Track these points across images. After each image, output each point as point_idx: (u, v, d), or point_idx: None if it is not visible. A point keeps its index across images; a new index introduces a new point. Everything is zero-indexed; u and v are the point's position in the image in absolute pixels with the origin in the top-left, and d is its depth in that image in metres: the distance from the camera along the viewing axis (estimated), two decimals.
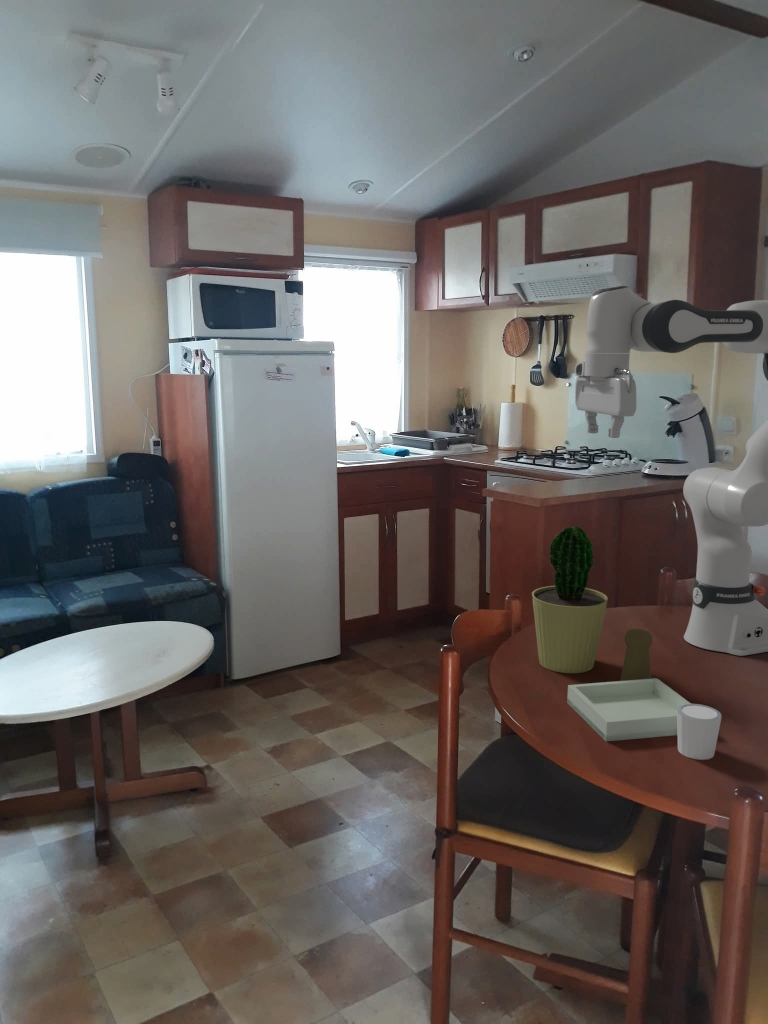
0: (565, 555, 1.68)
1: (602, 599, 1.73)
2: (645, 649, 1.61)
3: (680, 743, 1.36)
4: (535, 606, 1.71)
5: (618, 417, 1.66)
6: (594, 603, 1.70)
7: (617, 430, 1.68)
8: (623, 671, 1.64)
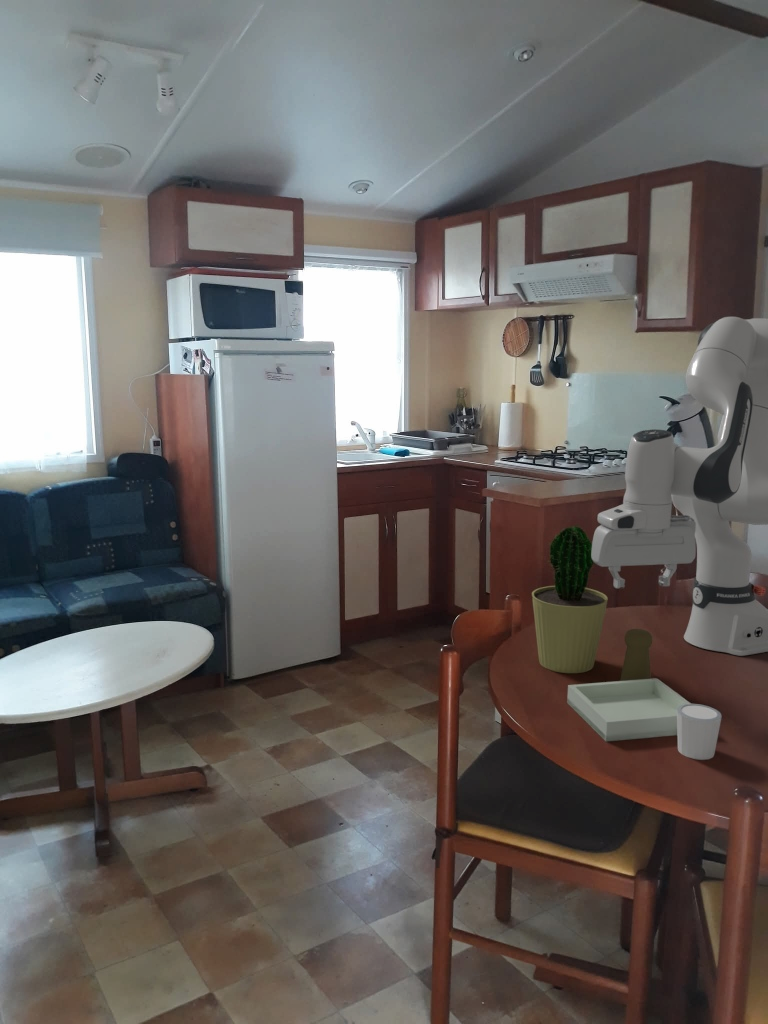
0: (565, 555, 1.68)
1: (602, 599, 1.73)
2: (645, 649, 1.61)
3: (680, 743, 1.36)
4: (535, 606, 1.71)
5: None
6: (594, 603, 1.70)
7: None
8: (623, 671, 1.64)
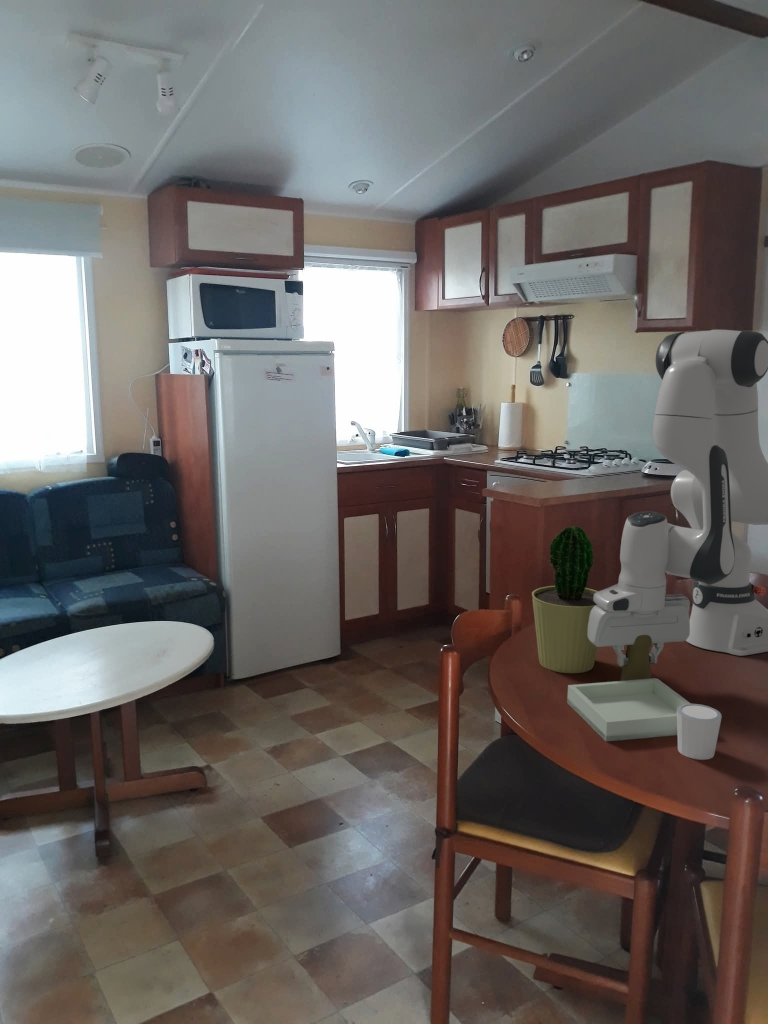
0: (565, 555, 1.68)
1: None
2: (645, 649, 1.61)
3: (680, 743, 1.36)
4: (535, 606, 1.71)
5: None
6: (594, 603, 1.70)
7: None
8: (623, 671, 1.64)
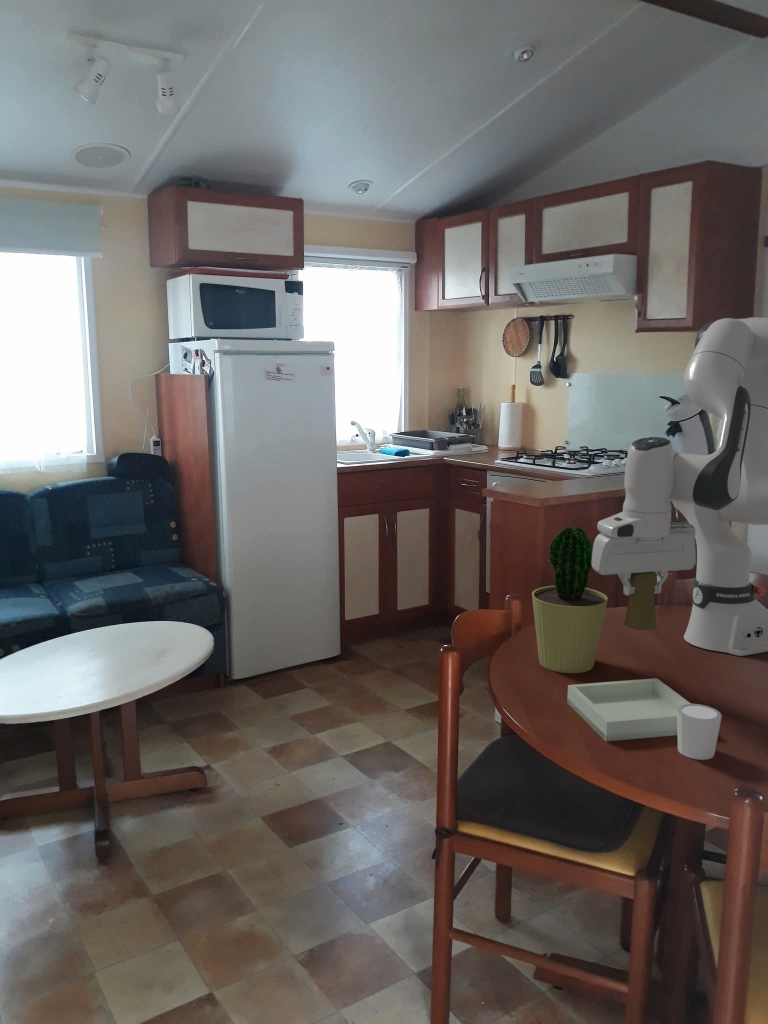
0: (565, 555, 1.68)
1: (602, 599, 1.73)
2: (650, 589, 1.59)
3: (680, 743, 1.36)
4: (535, 606, 1.71)
5: None
6: (594, 603, 1.70)
7: None
8: (627, 612, 1.62)
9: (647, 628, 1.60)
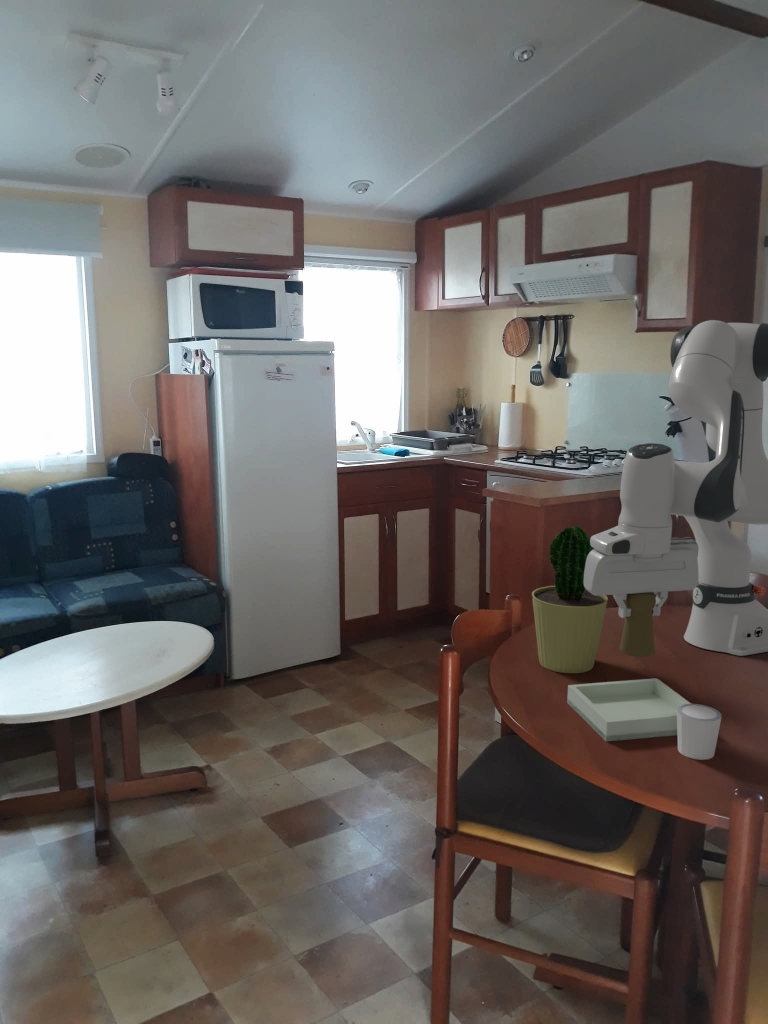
0: (565, 555, 1.68)
1: (602, 599, 1.73)
2: (648, 611, 1.44)
3: (680, 743, 1.36)
4: (535, 606, 1.71)
5: None
6: (594, 603, 1.70)
7: None
8: (623, 636, 1.46)
9: (645, 654, 1.44)
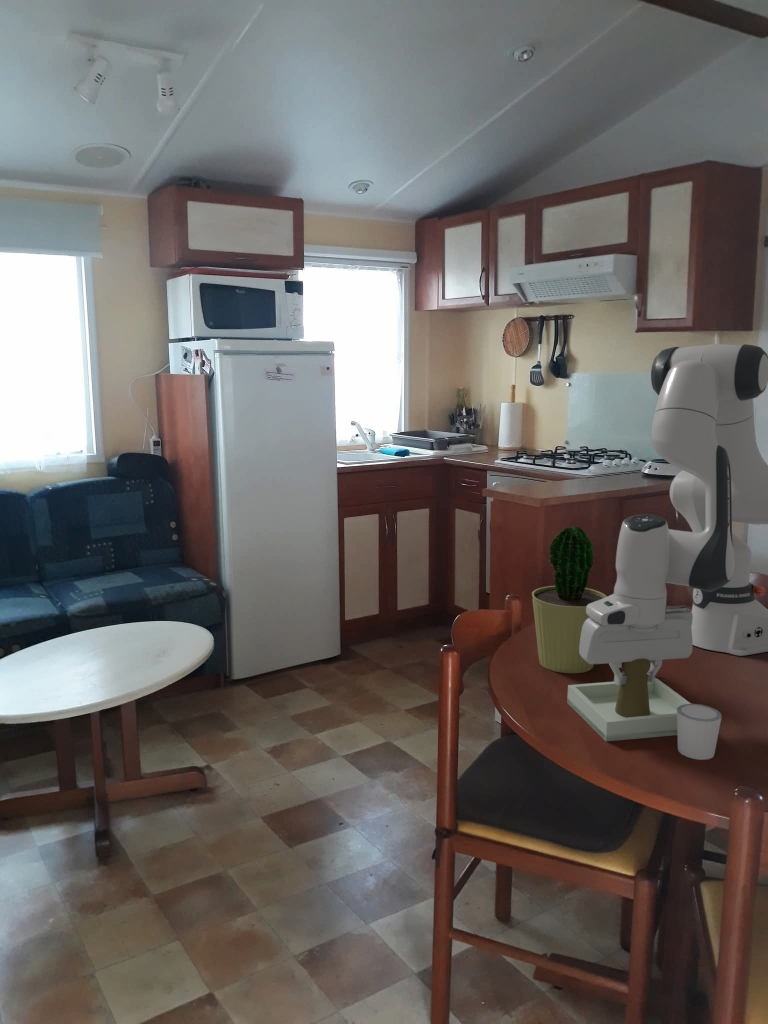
0: (565, 555, 1.68)
1: None
2: (643, 674, 1.46)
3: (680, 743, 1.36)
4: (535, 606, 1.71)
5: None
6: None
7: None
8: (619, 698, 1.49)
9: None
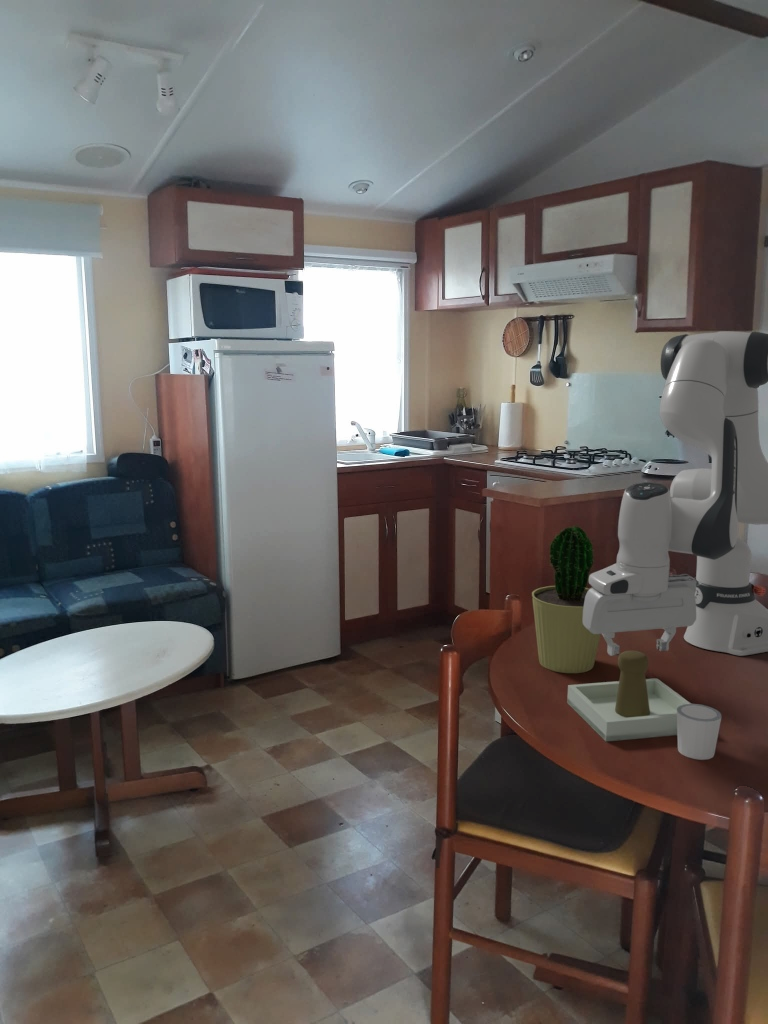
0: (565, 555, 1.68)
1: None
2: (641, 673, 1.46)
3: (680, 743, 1.36)
4: (535, 606, 1.71)
5: None
6: None
7: None
8: (618, 698, 1.49)
9: None
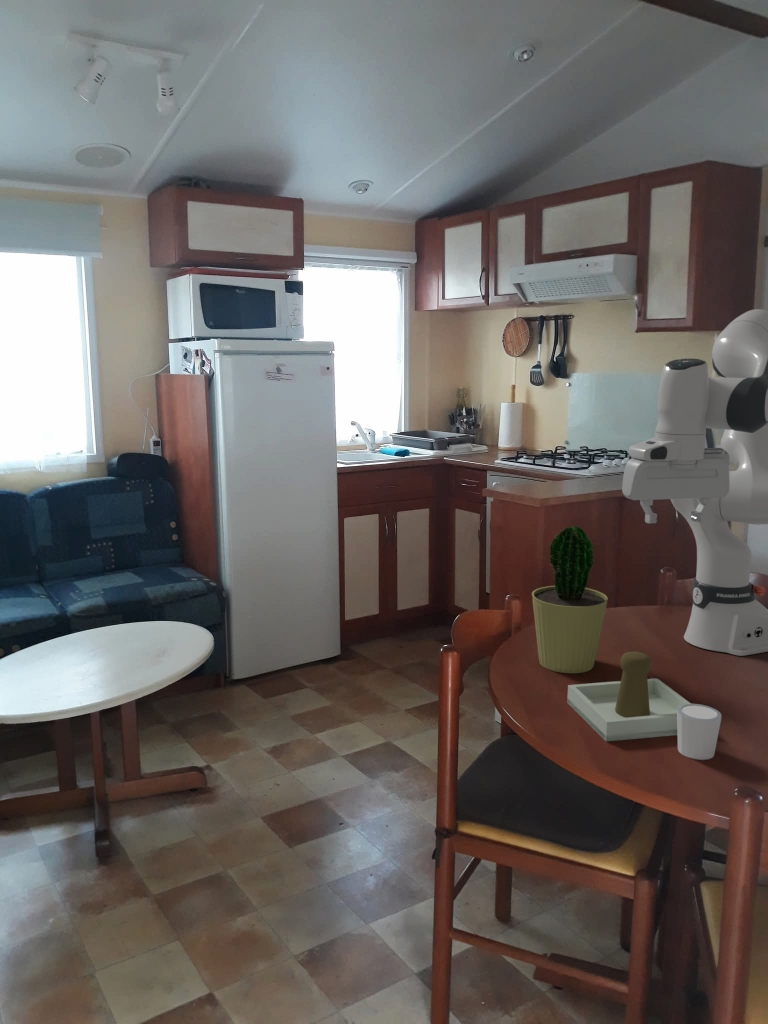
0: (565, 555, 1.68)
1: (602, 599, 1.73)
2: (643, 674, 1.46)
3: (680, 743, 1.36)
4: (535, 606, 1.71)
5: None
6: (594, 603, 1.70)
7: None
8: (619, 698, 1.49)
9: None
